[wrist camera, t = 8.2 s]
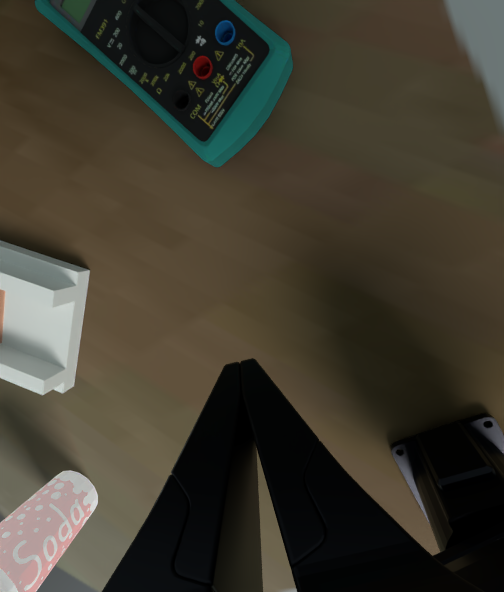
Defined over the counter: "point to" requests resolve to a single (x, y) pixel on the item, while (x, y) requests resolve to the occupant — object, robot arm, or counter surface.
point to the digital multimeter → (186, 63)
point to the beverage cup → (43, 530)
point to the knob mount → (40, 319)
